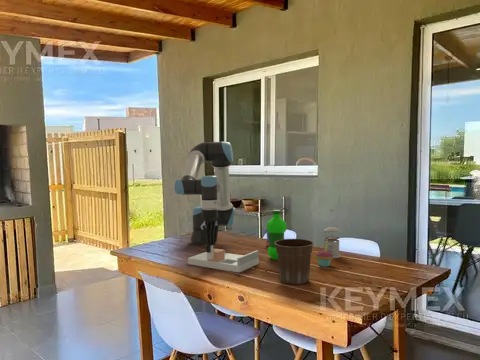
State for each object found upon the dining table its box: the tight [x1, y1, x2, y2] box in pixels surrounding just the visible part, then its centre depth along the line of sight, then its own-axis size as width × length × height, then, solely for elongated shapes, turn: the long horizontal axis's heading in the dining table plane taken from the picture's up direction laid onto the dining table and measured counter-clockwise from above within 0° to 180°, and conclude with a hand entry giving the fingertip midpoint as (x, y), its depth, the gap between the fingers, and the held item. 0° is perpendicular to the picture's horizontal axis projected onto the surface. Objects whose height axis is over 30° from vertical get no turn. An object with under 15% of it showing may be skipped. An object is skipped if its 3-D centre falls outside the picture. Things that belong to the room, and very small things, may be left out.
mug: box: [264, 227, 269, 247], centre depth 225 cm, size 12×9×11 cm
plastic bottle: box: [266, 209, 287, 261], centre depth 196 cm, size 10×10×25 cm
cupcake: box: [315, 240, 334, 268], centre depth 182 cm, size 9×8×12 cm
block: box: [207, 248, 226, 262], centre depth 183 cm, size 6×6×4 cm
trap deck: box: [187, 250, 260, 273], centre depth 186 cm, size 30×18×6 cm, turn 58°
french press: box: [322, 208, 342, 259], centre depth 201 cm, size 10×12×25 cm
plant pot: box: [274, 238, 314, 285], centre depth 159 cm, size 16×16×16 cm
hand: (210, 258), depth 178 cm, fingers closed
